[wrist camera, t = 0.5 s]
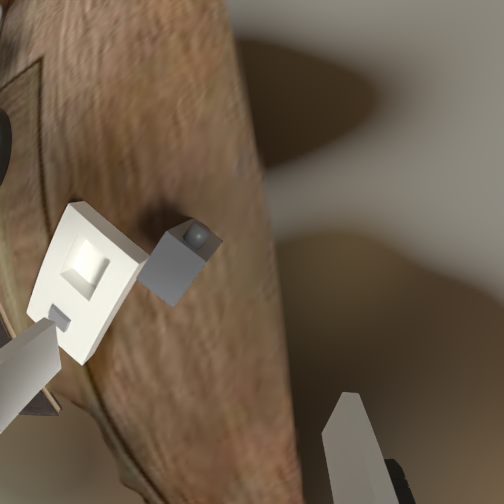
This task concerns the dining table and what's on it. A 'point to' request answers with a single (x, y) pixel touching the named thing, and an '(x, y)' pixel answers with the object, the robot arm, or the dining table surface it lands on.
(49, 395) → the hardcover book
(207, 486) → the dining table surface
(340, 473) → the robot arm
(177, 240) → the plug
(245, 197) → the dining table surface
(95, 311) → the socket
